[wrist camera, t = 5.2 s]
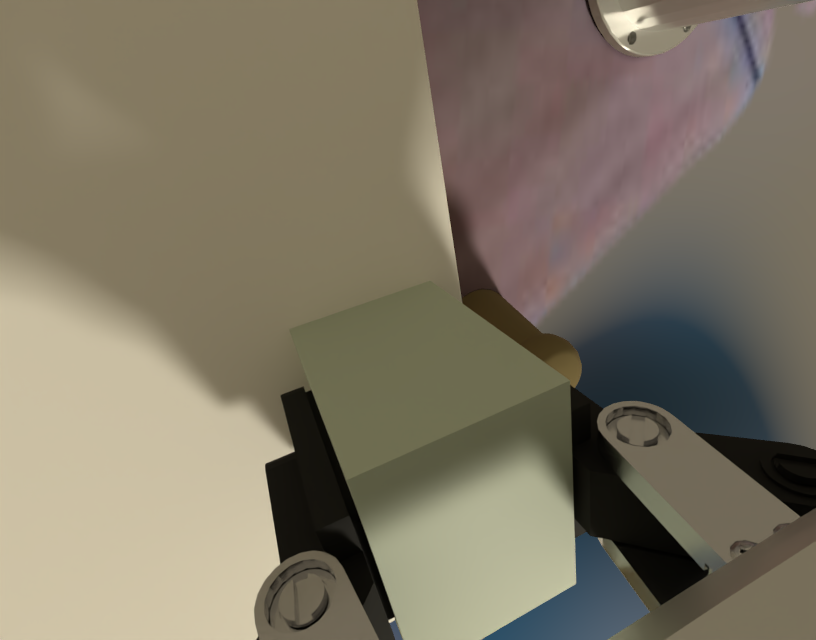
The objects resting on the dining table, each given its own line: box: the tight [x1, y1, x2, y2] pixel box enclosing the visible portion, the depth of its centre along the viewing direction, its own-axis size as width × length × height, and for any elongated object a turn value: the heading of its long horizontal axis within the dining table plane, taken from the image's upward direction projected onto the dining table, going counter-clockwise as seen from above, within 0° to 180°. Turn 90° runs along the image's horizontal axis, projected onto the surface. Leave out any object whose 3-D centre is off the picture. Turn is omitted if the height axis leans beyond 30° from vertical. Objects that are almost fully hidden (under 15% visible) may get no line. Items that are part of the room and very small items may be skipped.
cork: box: [462, 289, 582, 388], centre depth 35 cm, size 6×6×11 cm
